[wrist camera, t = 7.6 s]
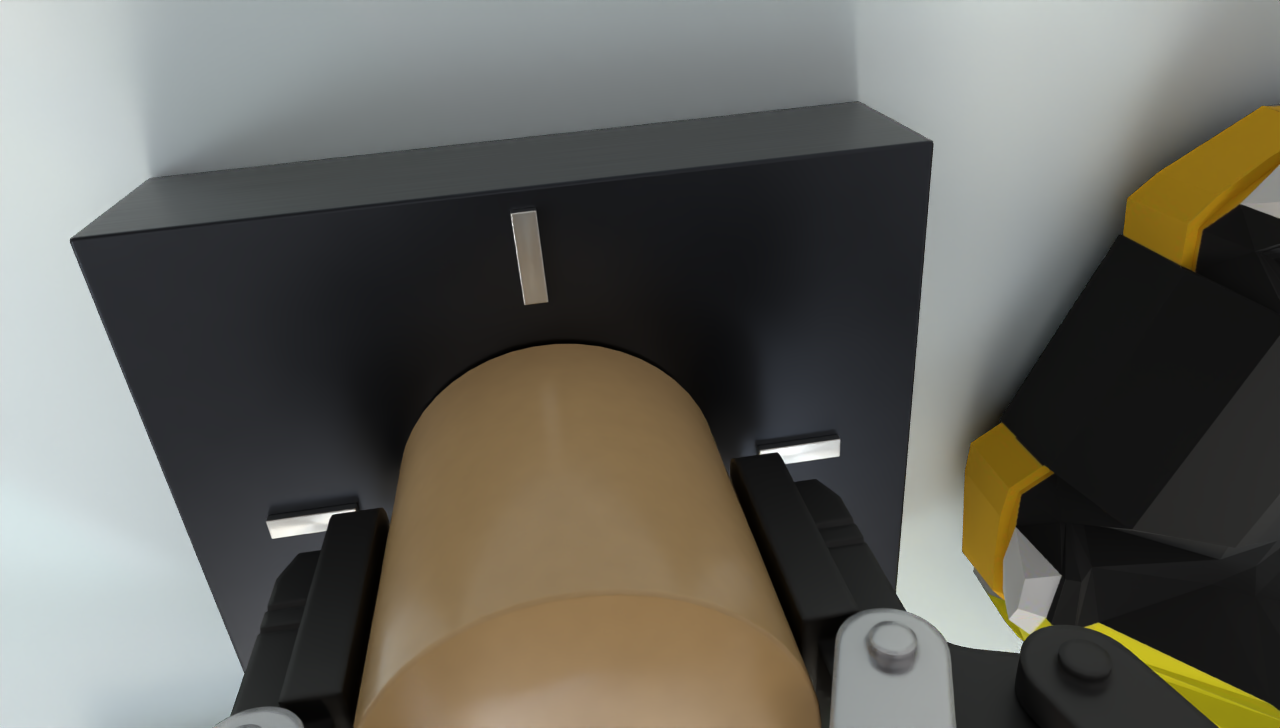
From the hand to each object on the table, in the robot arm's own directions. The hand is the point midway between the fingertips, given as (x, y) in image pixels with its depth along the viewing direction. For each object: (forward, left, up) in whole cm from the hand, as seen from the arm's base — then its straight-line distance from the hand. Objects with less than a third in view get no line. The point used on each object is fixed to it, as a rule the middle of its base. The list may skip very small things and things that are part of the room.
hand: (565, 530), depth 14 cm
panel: (0, 0, -4) cm, 4 cm away
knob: (0, 0, -1) cm, 1 cm away
